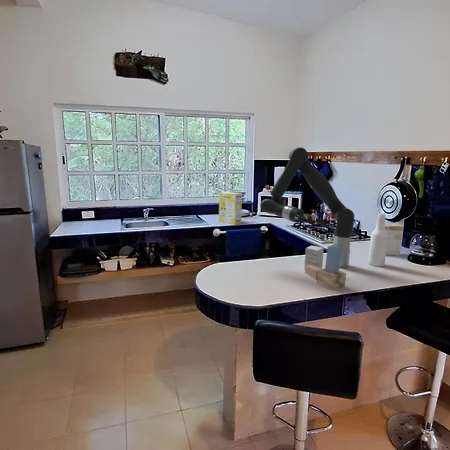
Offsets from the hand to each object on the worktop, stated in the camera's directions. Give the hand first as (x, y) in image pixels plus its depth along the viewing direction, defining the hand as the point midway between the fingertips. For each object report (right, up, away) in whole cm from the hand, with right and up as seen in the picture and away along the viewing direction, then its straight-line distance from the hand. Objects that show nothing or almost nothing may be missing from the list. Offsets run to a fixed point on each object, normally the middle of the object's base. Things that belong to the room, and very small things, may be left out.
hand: (319, 222), depth 164 cm
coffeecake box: (+59, -20, +55) cm, 83 cm away
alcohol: (+42, -24, +31) cm, 57 cm away
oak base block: (+4, -30, -4) cm, 31 cm away
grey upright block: (+1, -26, +17) cm, 31 cm away
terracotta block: (0, -28, +9) cm, 29 cm away
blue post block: (+4, -23, -5) cm, 24 cm away
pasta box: (-42, +1, +149) cm, 155 cm away
